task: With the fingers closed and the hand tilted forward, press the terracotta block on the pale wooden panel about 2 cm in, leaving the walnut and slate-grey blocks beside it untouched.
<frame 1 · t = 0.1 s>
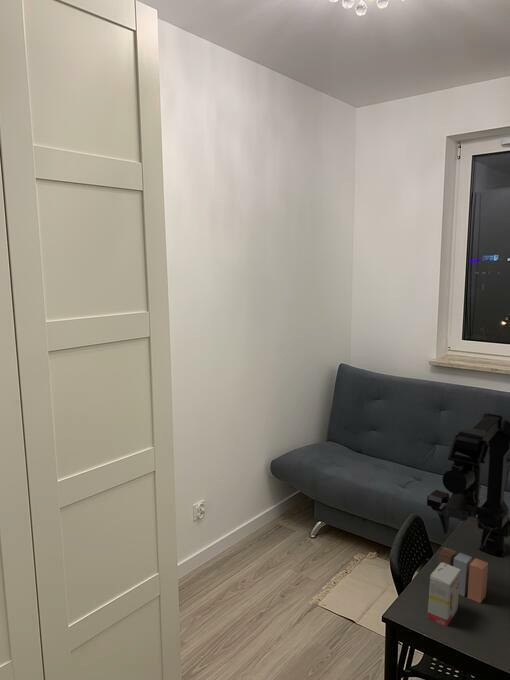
hand: (463, 539, 133), 15 cm above the table, tool pointing down, fingers open, 9 cm apart
ink box: (442, 618, 124), on the table
slate block: (461, 574, 133), point 6 cm above the table, slide at 0.0 cm
press panel: (458, 596, 133), on the table
walnut block: (446, 568, 135), point 6 cm above the table, slide at 0.0 cm
terracotta block: (477, 580, 130), point 6 cm above the table, slide at 0.0 cm
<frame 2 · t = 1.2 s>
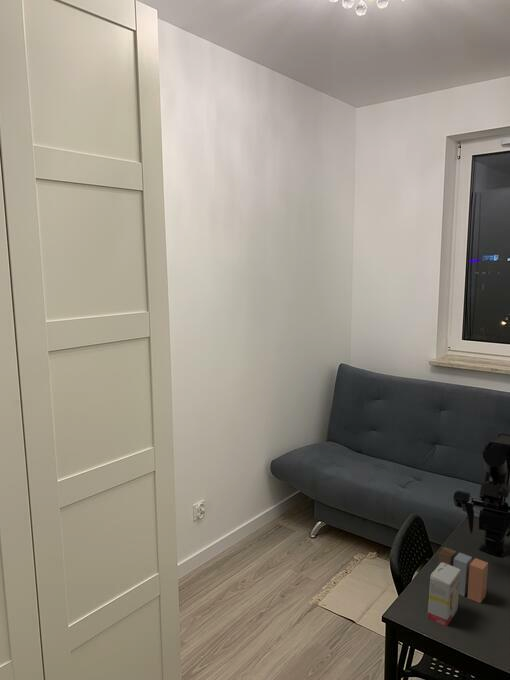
hand: (485, 536, 137), 13 cm above the table, tool tilted 45°, fingers open, 7 cm apart
nothing on the table moved.
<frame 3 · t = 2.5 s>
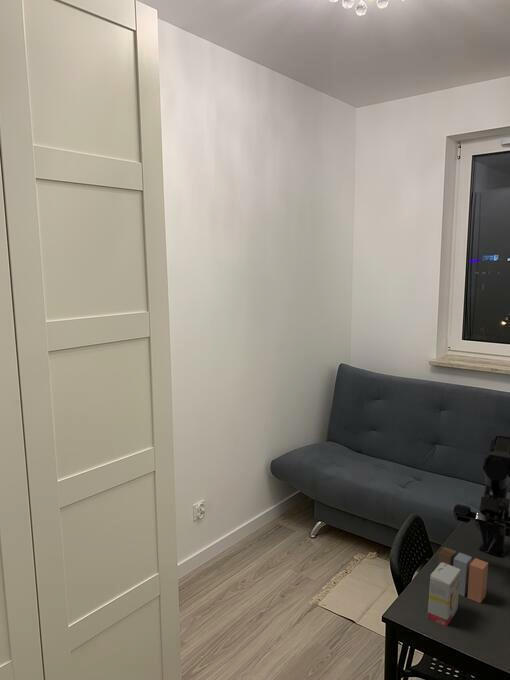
hand: (486, 551, 136), 10 cm above the table, tool tilted 45°, fingers closed
nothing on the table moved.
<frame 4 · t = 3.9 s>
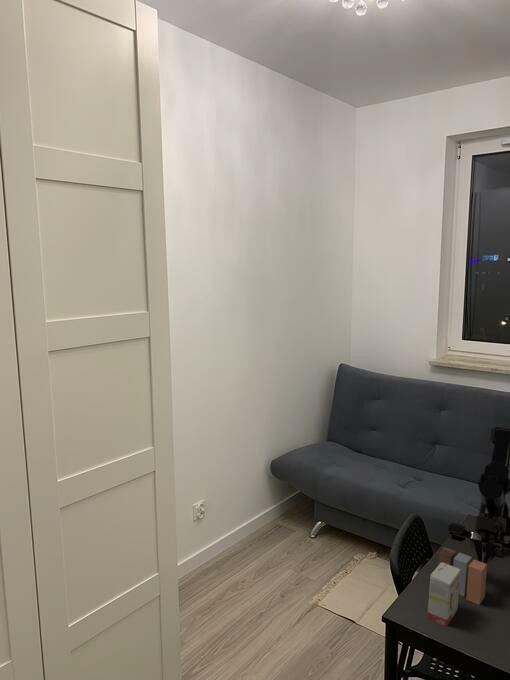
hand: (481, 572, 131), 7 cm above the table, tool tilted 45°, fingers closed
terracotta block: (476, 581, 129), point 6 cm above the table, slide at 0.9 cm, touching gripper
everything else where it was.
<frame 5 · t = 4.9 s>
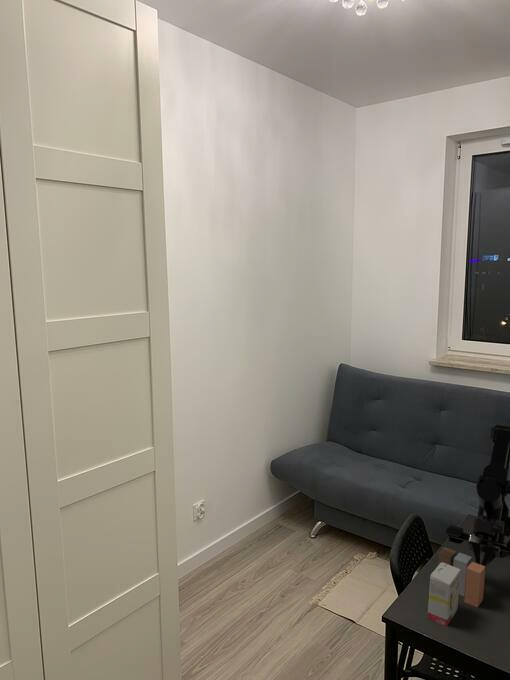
hand: (479, 575, 130), 7 cm above the table, tool tilted 45°, fingers closed
terracotta block: (474, 584, 128), point 6 cm above the table, slide at 2.2 cm
everything else where it was.
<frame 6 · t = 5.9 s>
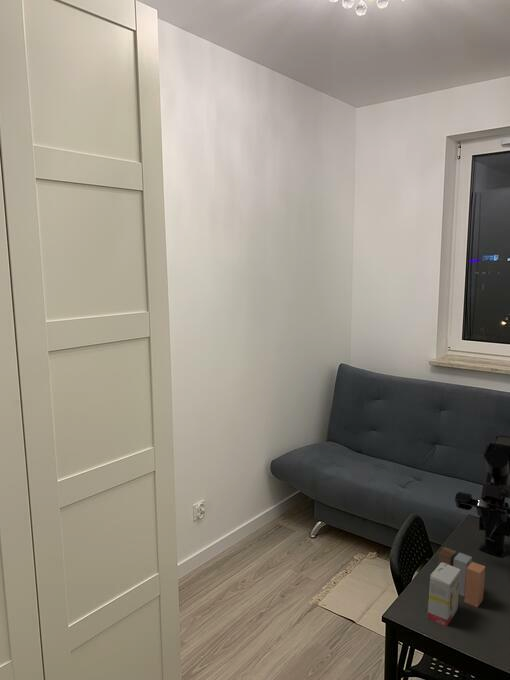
hand: (487, 537, 137), 13 cm above the table, tool tilted 45°, fingers closed
nothing on the table moved.
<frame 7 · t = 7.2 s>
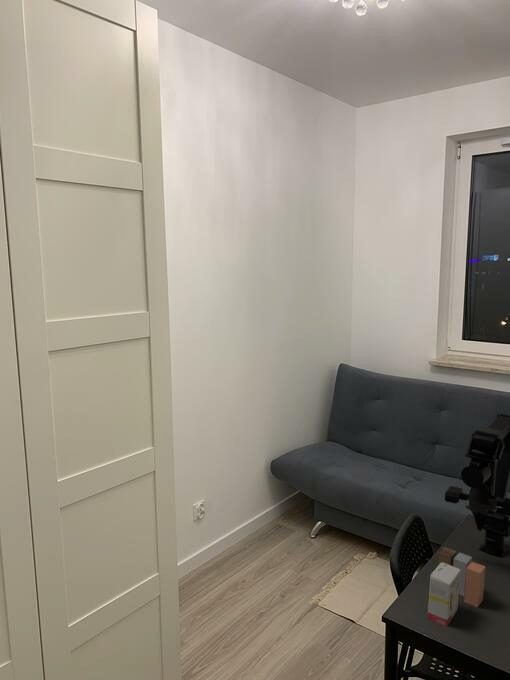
hand: (479, 530, 143), 12 cm above the table, tool pointing down, fingers closed
nothing on the table moved.
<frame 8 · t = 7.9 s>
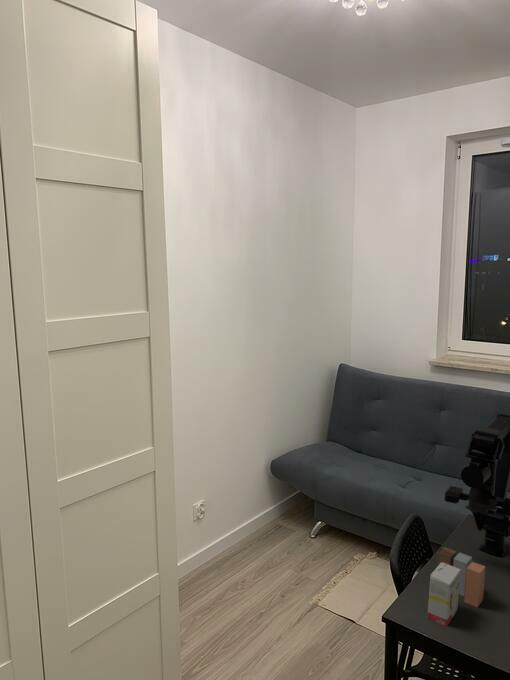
hand: (479, 530, 143), 12 cm above the table, tool pointing down, fingers closed
nothing on the table moved.
at the end: terracotta block slide at 2.2 cm; slate block slide at 0.0 cm; walnut block slide at 0.0 cm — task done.
